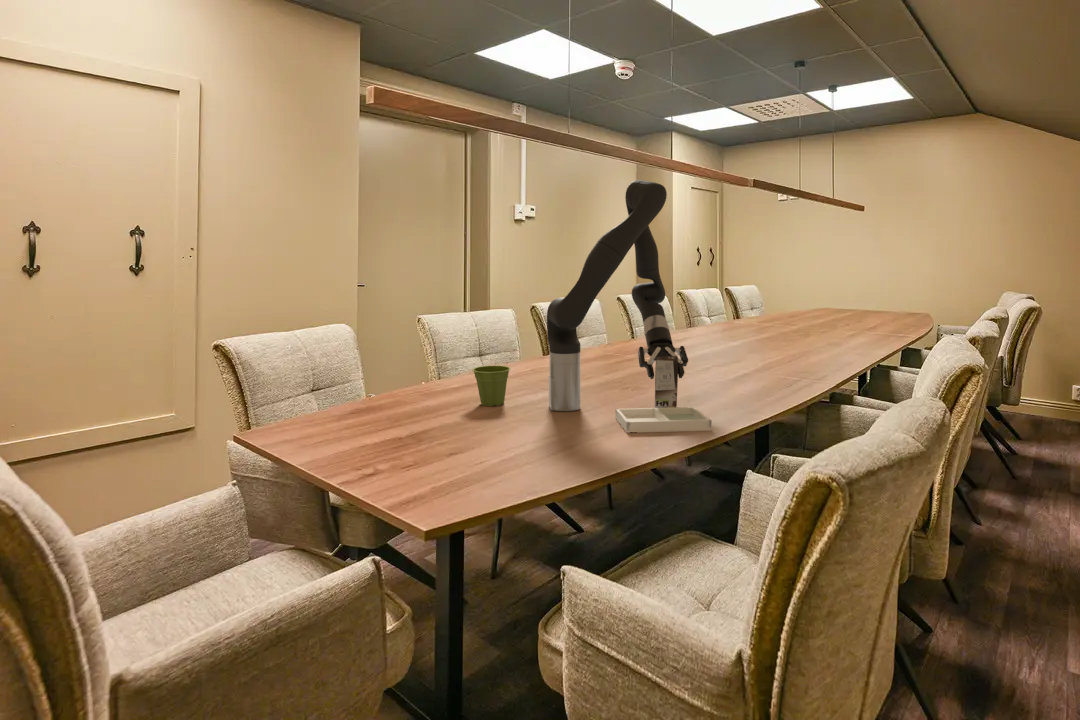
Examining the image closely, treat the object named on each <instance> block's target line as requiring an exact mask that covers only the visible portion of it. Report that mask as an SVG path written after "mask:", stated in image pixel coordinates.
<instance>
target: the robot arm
mask: <svg viewBox="0 0 1080 720" xmlns="http://www.w3.org/2000/svg"><path fill="white" fill-rule="evenodd" d="M667 194H668V193H667V189H666V187H665V186H664V185H662V184H661V183H658V182H655V181H648V180H643V179H635V180H633V181H631V182H630V183H629V185H628V187H627V188H626V190H625V196H624V197H625V204H626V205H625V206H626V209H627V214H628V215H627V217H626V218H625V219H624V220H623V221H622V222H620V223H619V224H618V225H616V226H614V227H613V228H611V229H609V230H608V231H607V232H605V233H604V234H603V235H602V236H601V237H600V238H599V239H598V240H597V242H596V243H595V245H593V247H592V249H591V250H590V252H589V254H588V255H587V257H586V259H585V262H584V263H583V267H582V270H581V273H580V276H579V277H578V280H577V281H576V283H575V284H574V286H573V287H572V289H570V291H569V292H568V293H567V294H566V295H565V297H561V296H560V297H557V298H555V299H553V300H552V301H551V302H550V303H549V305H548V307H547V310H546V332H547V334H546V335H547V337H546V338H547V342H548V346H549V348H548V349H549V376H548V407H549V409H550V411H556V412H573V411H577V410H580V409H581V342H580V340H579V338H578V334H577V333H578V332H577V328H578V327H579V326H580V325H581V324H582V322H583V321H584V319H585V318H586V315H587V314H588V312H589V310H590V308H591V306H592V305H593V303H594V301H595V300H596V298H597V296H598V295H599V294H600V292H601V290H603V288H604V287H605V286H606V284H607V283H608V281H609V280H610V278H611V277H612V275H613V274H614V273H615V271H616V270H617V269H618V268H619V266H620V265H621V263H622V262H623V260H624V259H625V257H626V256H627V254H628V253H629V251H630V250H631V248H633V245H634V250H635V251H634V252H635V267H636V268H635V269H636V276H637V277H638V278H640V279H644V280H651V281H650V282H642V283H637V284H635V285H633V287H632V289H631V297H632V300H633V303H634V305H636V308H637V309H638V310H639V312H640V315H641V318H642V323H643V333H644V336H645V337H644V338H645V342H646V346H647V348H644V347H643V346H640V347H639V348H638V351H637V357H638V365H639V367H640V368H645V369H646V373H647V377H648V378H650V380H653V379H655V372H654V367H653V365H654V364H655V363H656V356H677V357H678V379H682V378H683V377H684V375H685V373H686V372H685V368H684V367H687V365H688V363H689V358H688V354H687V352H686V349H685V346H683V345H680V347H675V346H674V345H673V339H672V335H671V331H670V327H669V324H668V321H667V318H666V314H665V308H664V307H663V305H661V303H662V302H664V300H665V298H666V290H665V287H664V284H663V281H662V279H661V275H660V268H659V267H660V266H659V263H660V262H659V252H658V251H659V250H658V246H657V243H656V240H655V237H654V236H653V234H652V232H651V228H650V224H651V223H652V222H653V221H654V219H655V218H656V217H657V216H658V215H659V213H660V212H661V211H662V210H663V208H664V206H665V203H666V202H667V196H668V195H667ZM646 354H647V355H648V356H649V357H650V358H649V359H648V361H646V359H645V356H646Z"/></svg>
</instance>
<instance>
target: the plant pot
mask: <svg viewBox="0 0 1080 720" xmlns="http://www.w3.org/2000/svg"><path fill="white" fill-rule="evenodd" d="M510 370H511V367H510V366H506V365H484V366H483V365H481V366H477V367H474V368H472V372H473V373H474V378H475V380H476V384H477V389H478V394H479V395H478V396H479V401H480V404H481V405H482V406H485V407H492V406H496V407H499V406H501V405H504V404H505V400H506V392H507V391H506V390H507V383H508V378H509V375H510V374H509V373H510Z"/></svg>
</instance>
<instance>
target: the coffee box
mask: <svg viewBox="0 0 1080 720" xmlns="http://www.w3.org/2000/svg"><path fill="white" fill-rule="evenodd" d="M677 356H678V355H677ZM677 356H656V361H655V372H654V408H672V407H677V405H678V385H679V384H678V382H679V381H678V380H679V376H678V358H679V356H678V357H677Z"/></svg>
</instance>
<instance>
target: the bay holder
mask: <svg viewBox="0 0 1080 720" xmlns="http://www.w3.org/2000/svg"><path fill="white" fill-rule="evenodd" d="M616 419H617V420H616ZM615 420H616V421H617V422H618V424H619V423H620V424H621V425H620V424H619V425H620V426H621V428H622V429H623V428H624V429H623V431H625V432H627V434H631V433H630V432H637V433H658V432H659V433H664V432H666V433H667V432H668V433H669V432H671V433H672V432H702V431H704V432H705V431H706V432H709V431H712V421H713V420H712V419H710V417H708V416H707V415H705V414H704V413H703V412H702V411H700V410H699V409H697V408H696V407H695V406H683V407H682V406H679V407H672V408H655V407H640V408H639V407H635V408H634V407H633V408H616V409H615Z"/></svg>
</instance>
